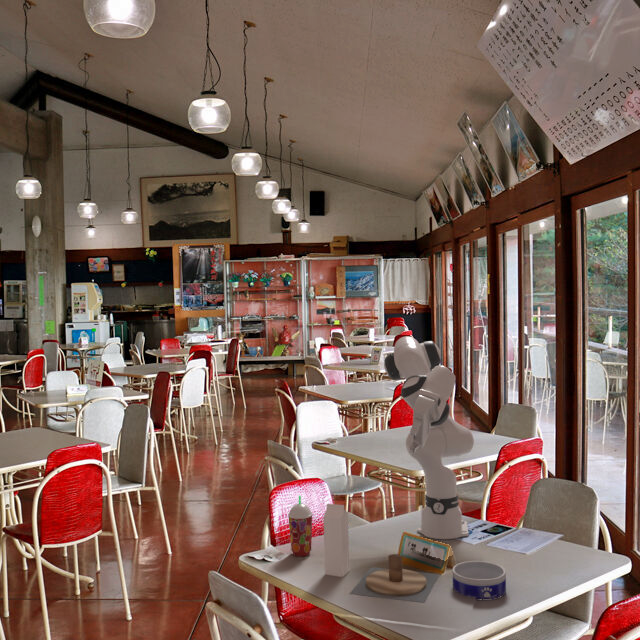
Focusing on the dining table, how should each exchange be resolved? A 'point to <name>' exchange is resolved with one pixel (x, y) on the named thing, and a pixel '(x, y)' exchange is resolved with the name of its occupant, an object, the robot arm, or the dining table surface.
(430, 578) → the mat
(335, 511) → the milk
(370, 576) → the lid
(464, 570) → the dog bowl
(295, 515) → the smoothie
